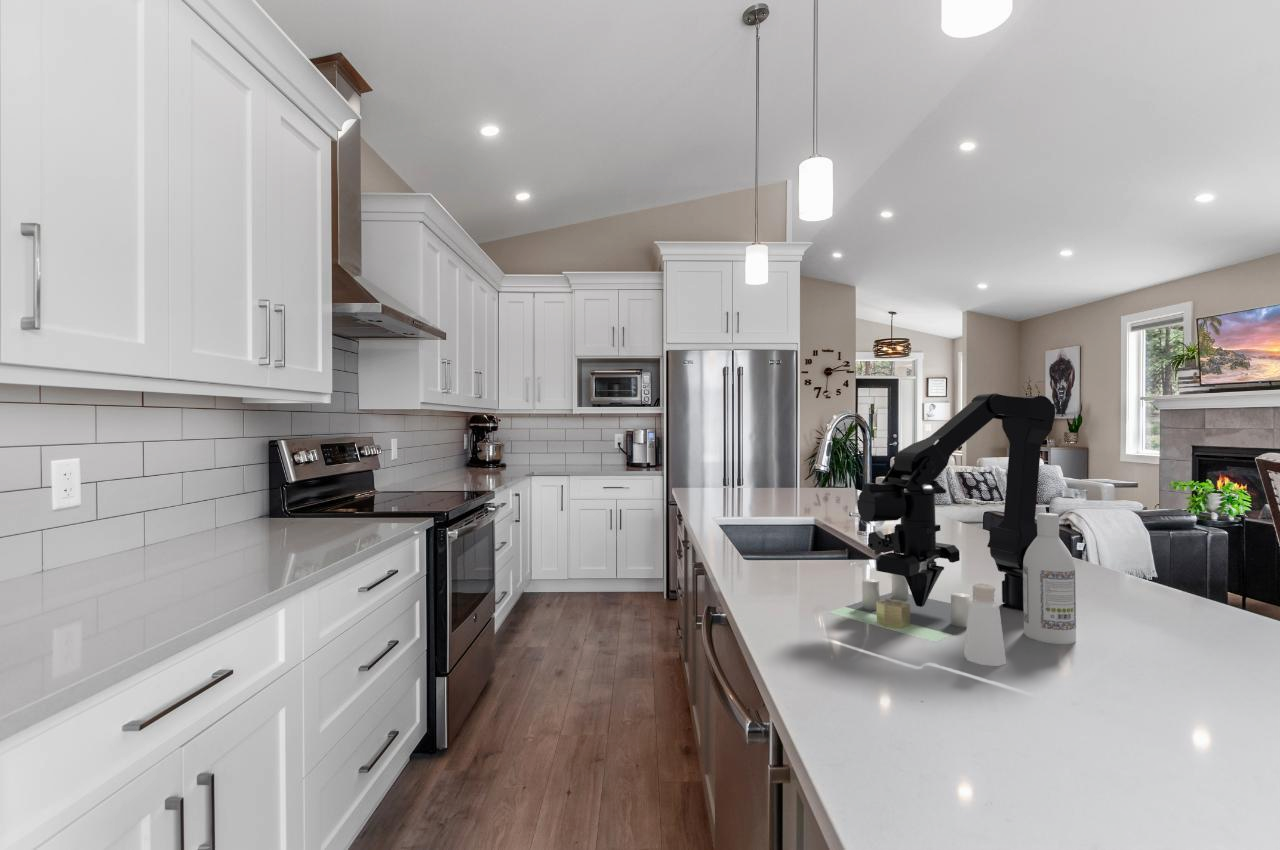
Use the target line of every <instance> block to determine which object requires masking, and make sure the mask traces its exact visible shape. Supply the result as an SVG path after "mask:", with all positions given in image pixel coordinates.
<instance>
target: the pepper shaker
mask: <svg viewBox="0 0 1280 850" xmlns="http://www.w3.org/2000/svg"><path fill="white" fill-rule="evenodd" d="M973 589H974V600H973V599H972V600H971V601H970V604H969V611H968V621H967V629H965V630H966V632H965V641H964V651H963V653H964V654H963V656H964V658H966V660H967V661H968V662H972V663H974V664H978V665H981V666H991V667H993V666H994V667H1000V666H1003V665H1006V664H1007V658H1006V651H1005V641H1004V634H1003V626H1002V625H1003V624H1002V619H1001V611H1000V607H999V606H1000V605H999V604H997V603H996V602H995V591H996V588H995V587H994V586H993V585H991V584H987V583H975V584H973V586H972V590H973Z"/></svg>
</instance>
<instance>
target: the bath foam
mask: <svg viewBox="0 0 1280 850" xmlns="http://www.w3.org/2000/svg"><path fill="white" fill-rule="evenodd" d="M1036 526H1037V534H1038V535H1037V537H1036V538H1035V539H1034V541H1033V542H1032V543H1031V544H1030V546H1029V547H1028V549H1027V551H1026V553H1025V556H1024V560H1023V608H1024V611H1023V633H1024V635H1025V636H1026V637H1028V638H1029V639H1032V640H1035V641H1038V642H1042V643H1047V644H1055V645H1071V644H1074V643H1075V642H1076V641H1077V607H1076V606H1077V603H1076V602H1077V601H1076V597H1077V596H1076V565H1075V561H1074V558H1073V556H1072V555H1073V554H1071V552H1070V550H1069V549H1068V547H1067V546H1066V545H1065V543H1064V542H1063V540H1061V539H1062V538H1061V537H1060V516H1059V514H1057V513H1053V512H1052V513H1050V512H1038V513H1037V514H1036ZM1075 644H1076V643H1075Z"/></svg>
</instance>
